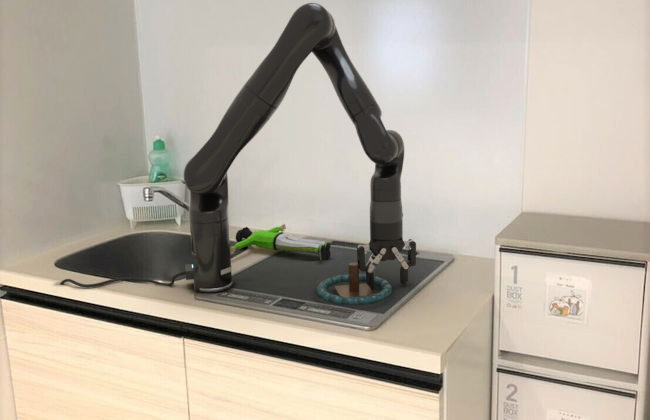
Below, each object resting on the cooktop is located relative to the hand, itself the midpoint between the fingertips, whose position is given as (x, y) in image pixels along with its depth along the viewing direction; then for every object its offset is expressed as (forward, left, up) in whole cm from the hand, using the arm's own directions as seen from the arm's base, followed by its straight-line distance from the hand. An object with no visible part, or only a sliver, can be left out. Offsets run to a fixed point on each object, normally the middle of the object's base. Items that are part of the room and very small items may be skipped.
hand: (387, 284), depth 162 cm
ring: (-8, 0, 0) cm, 8 cm away
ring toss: (-8, 0, -2) cm, 8 cm away
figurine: (-20, +37, -2) cm, 42 cm away
